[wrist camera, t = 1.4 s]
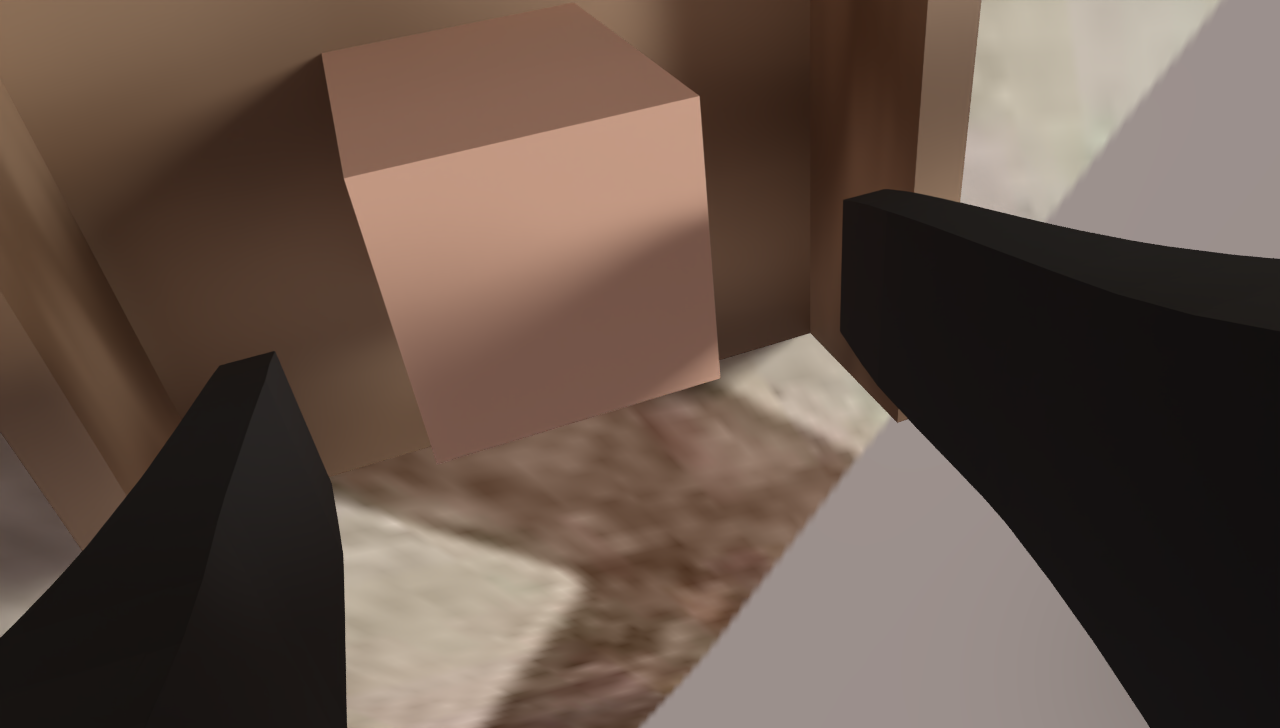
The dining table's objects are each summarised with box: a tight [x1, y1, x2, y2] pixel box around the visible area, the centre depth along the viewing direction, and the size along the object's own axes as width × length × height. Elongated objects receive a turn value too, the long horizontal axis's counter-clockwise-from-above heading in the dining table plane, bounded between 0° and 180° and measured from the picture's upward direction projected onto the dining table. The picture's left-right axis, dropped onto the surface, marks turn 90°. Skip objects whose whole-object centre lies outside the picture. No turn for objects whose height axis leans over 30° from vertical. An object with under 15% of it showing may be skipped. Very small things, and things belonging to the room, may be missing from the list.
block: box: [321, 2, 720, 464], centre depth 15 cm, size 4×4×6 cm
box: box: [0, 0, 981, 551], centre depth 15 cm, size 14×16×4 cm
